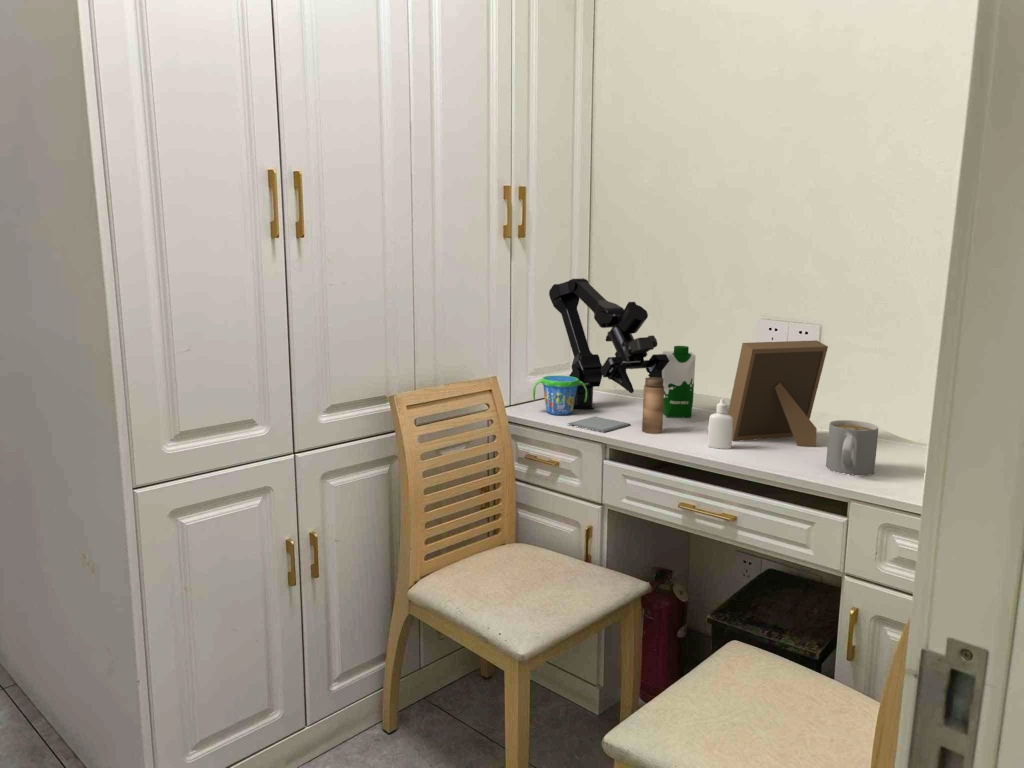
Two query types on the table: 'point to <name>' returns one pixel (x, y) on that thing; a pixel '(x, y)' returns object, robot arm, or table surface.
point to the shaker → (653, 405)
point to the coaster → (599, 424)
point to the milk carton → (678, 382)
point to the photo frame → (776, 390)
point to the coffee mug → (852, 447)
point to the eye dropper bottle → (720, 428)
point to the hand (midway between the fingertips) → (647, 390)
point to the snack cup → (559, 393)
